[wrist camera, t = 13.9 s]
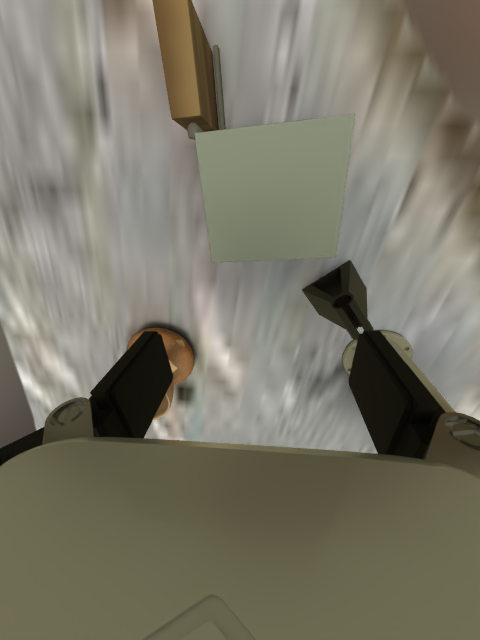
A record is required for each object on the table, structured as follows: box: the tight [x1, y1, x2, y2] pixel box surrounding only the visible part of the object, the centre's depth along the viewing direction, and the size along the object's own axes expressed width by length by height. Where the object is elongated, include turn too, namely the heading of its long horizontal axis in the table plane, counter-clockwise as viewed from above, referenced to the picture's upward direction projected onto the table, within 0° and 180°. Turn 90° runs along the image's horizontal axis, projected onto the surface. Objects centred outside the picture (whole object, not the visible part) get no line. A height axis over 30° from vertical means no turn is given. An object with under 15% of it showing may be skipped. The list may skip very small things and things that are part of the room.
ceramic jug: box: [127, 328, 194, 420], centre depth 45 cm, size 18×14×14 cm
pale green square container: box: [187, 45, 355, 263], centre depth 26 cm, size 22×18×13 cm
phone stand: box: [302, 261, 373, 340], centre depth 35 cm, size 9×6×12 cm, turn 128°
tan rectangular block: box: [153, 0, 219, 132], centre depth 25 cm, size 4×8×10 cm, turn 4°
